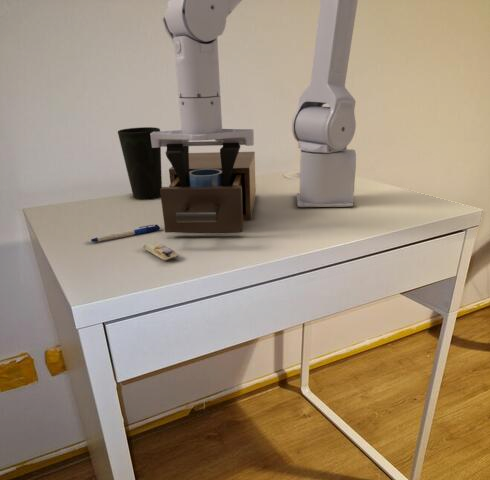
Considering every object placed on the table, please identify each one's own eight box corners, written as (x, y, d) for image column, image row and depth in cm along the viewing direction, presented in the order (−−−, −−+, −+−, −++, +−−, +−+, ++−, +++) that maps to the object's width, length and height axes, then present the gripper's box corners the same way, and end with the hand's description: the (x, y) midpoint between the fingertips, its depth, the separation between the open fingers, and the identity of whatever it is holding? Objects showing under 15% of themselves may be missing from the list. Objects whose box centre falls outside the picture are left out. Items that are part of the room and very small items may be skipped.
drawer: (239, 243, 63) (237, 196, 60) (157, 244, 64) (151, 198, 61) (248, 206, 79) (247, 168, 76) (182, 207, 80) (178, 169, 77)
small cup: (226, 201, 73) (224, 168, 71) (222, 210, 69) (220, 175, 66) (194, 201, 73) (191, 169, 71) (188, 211, 69) (184, 176, 66)
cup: (171, 190, 94) (164, 126, 88) (161, 200, 88) (153, 132, 82) (134, 191, 95) (125, 127, 89) (122, 201, 88) (111, 133, 82)
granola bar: (141, 249, 65) (140, 242, 64) (156, 245, 66) (155, 238, 65) (164, 263, 60) (163, 255, 59) (180, 258, 61) (179, 251, 60)
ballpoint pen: (158, 228, 73) (157, 222, 72) (160, 230, 72) (159, 223, 72) (91, 242, 68) (90, 235, 68) (93, 244, 68) (91, 237, 67)
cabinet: (250, 219, 75) (249, 167, 71) (174, 220, 76) (168, 169, 72) (255, 196, 88) (254, 151, 84) (190, 197, 89) (186, 153, 85)
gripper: (139, 100, 61) (153, 204, 67) (250, 97, 60) (253, 203, 66) (153, 96, 67) (164, 192, 74) (253, 93, 66) (255, 191, 72)
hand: (206, 196), depth 70 cm, fingers closed on small cup, 5 cm apart
